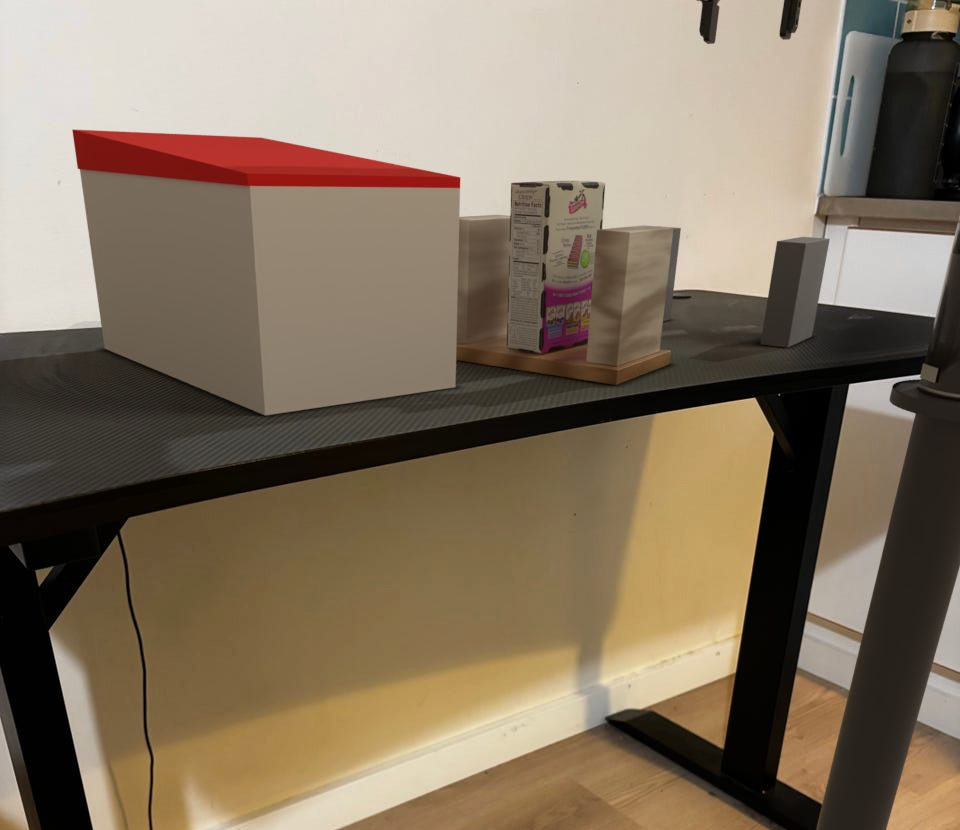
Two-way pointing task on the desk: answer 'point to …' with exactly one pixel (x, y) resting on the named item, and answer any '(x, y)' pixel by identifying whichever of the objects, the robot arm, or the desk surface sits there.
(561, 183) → the candy bar box
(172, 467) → the desk surface
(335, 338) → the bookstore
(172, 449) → the desk surface
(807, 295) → the grey books
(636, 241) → the shelf
